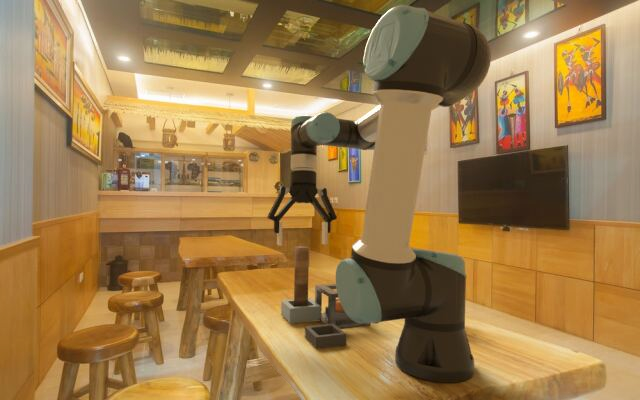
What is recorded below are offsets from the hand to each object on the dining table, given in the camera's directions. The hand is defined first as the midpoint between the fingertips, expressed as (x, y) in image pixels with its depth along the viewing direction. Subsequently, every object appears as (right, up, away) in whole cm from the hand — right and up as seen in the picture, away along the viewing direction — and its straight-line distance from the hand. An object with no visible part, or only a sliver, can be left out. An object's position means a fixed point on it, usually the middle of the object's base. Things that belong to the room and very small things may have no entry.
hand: (302, 244), depth 101 cm
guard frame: (+11, -21, -2) cm, 24 cm away
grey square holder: (-1, -21, 0) cm, 21 cm away
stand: (+6, -20, -18) cm, 28 cm away
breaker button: (+11, -20, -2) cm, 23 cm away
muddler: (-1, -21, 0) cm, 21 cm away
